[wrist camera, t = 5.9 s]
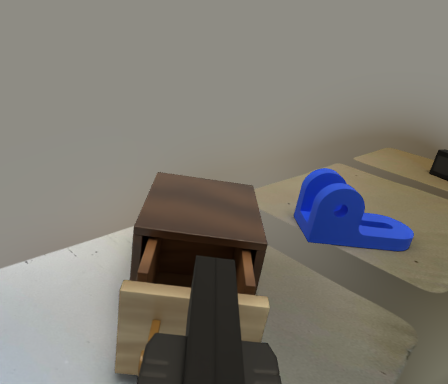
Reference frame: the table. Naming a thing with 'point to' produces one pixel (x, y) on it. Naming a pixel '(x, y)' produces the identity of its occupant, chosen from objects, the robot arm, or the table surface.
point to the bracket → (344, 216)
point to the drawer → (177, 297)
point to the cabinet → (200, 217)
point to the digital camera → (440, 165)
